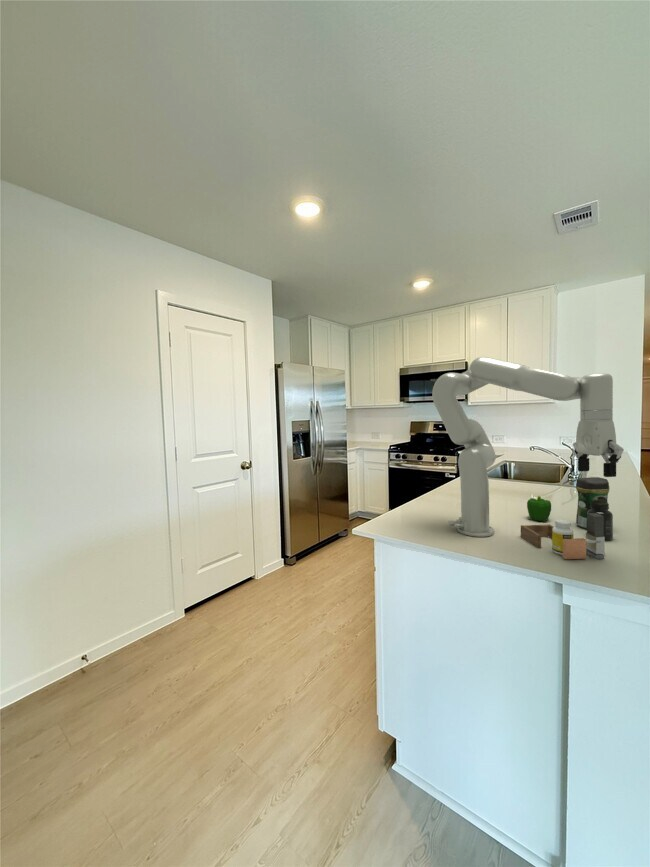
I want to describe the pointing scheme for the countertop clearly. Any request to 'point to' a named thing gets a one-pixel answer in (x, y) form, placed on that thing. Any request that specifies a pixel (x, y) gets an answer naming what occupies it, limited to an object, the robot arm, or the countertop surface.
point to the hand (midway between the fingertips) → (596, 473)
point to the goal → (536, 533)
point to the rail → (596, 556)
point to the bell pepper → (539, 508)
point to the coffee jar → (589, 496)
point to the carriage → (587, 539)
